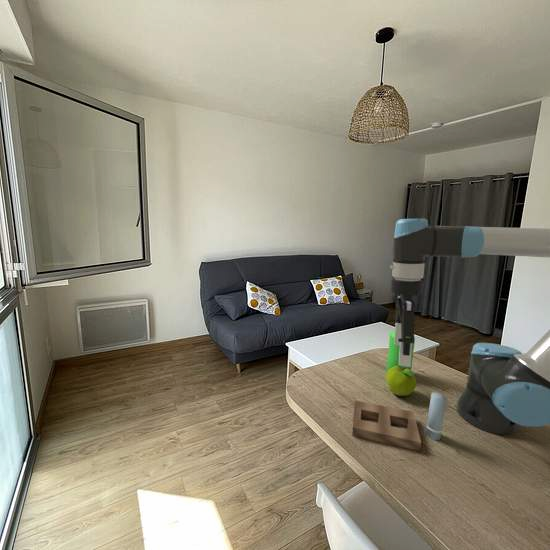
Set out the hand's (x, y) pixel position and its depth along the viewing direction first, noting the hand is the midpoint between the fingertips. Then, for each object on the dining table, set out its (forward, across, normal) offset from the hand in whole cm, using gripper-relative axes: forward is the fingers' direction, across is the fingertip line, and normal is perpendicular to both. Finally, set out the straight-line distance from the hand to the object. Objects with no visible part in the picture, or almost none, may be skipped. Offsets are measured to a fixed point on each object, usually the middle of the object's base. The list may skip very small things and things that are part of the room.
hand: (401, 354), depth 80 cm
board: (+22, +1, -4) cm, 22 cm away
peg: (+23, 0, +10) cm, 25 cm away
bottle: (+23, -33, +3) cm, 40 cm away
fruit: (+23, -19, +2) cm, 29 cm away
